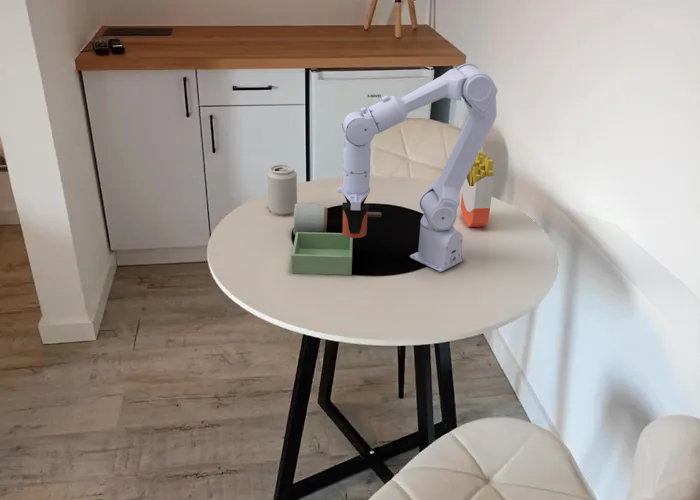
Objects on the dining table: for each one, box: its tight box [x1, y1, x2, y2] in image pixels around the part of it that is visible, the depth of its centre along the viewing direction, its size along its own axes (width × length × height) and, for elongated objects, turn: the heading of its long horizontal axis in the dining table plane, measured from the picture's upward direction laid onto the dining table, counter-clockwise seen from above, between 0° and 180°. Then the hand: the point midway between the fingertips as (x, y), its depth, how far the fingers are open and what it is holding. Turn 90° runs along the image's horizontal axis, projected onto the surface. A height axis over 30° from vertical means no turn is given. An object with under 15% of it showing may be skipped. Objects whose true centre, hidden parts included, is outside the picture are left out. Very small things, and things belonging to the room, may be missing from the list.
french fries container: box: [460, 150, 495, 228], centre depth 172 cm, size 5×11×18 cm, turn 7°
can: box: [267, 164, 298, 216], centre depth 177 cm, size 8×8×12 cm
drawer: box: [291, 232, 354, 276], centre depth 154 cm, size 13×12×4 cm
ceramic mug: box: [293, 203, 328, 236], centre depth 167 cm, size 11×8×8 cm
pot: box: [342, 209, 382, 239], centre depth 150 cm, size 8×5×6 cm, turn 89°
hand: (354, 226), depth 151 cm, fingers closed on pot, 5 cm apart
